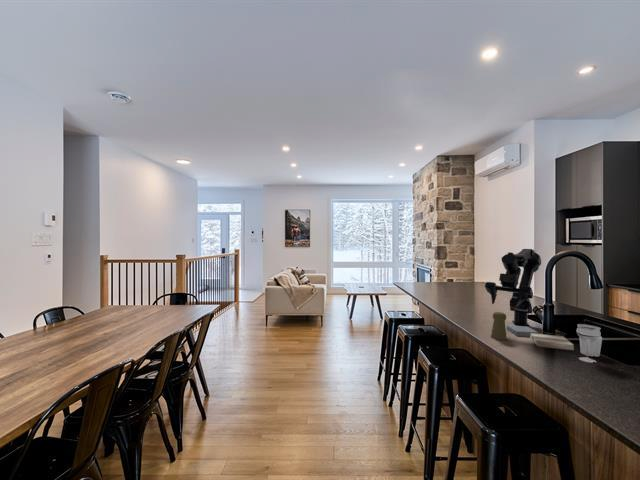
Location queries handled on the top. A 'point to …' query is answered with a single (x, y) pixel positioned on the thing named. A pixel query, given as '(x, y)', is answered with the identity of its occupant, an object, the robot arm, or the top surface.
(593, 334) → the wineglass
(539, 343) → the maple slab
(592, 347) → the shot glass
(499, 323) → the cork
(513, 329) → the blue grey block
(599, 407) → the top surface
